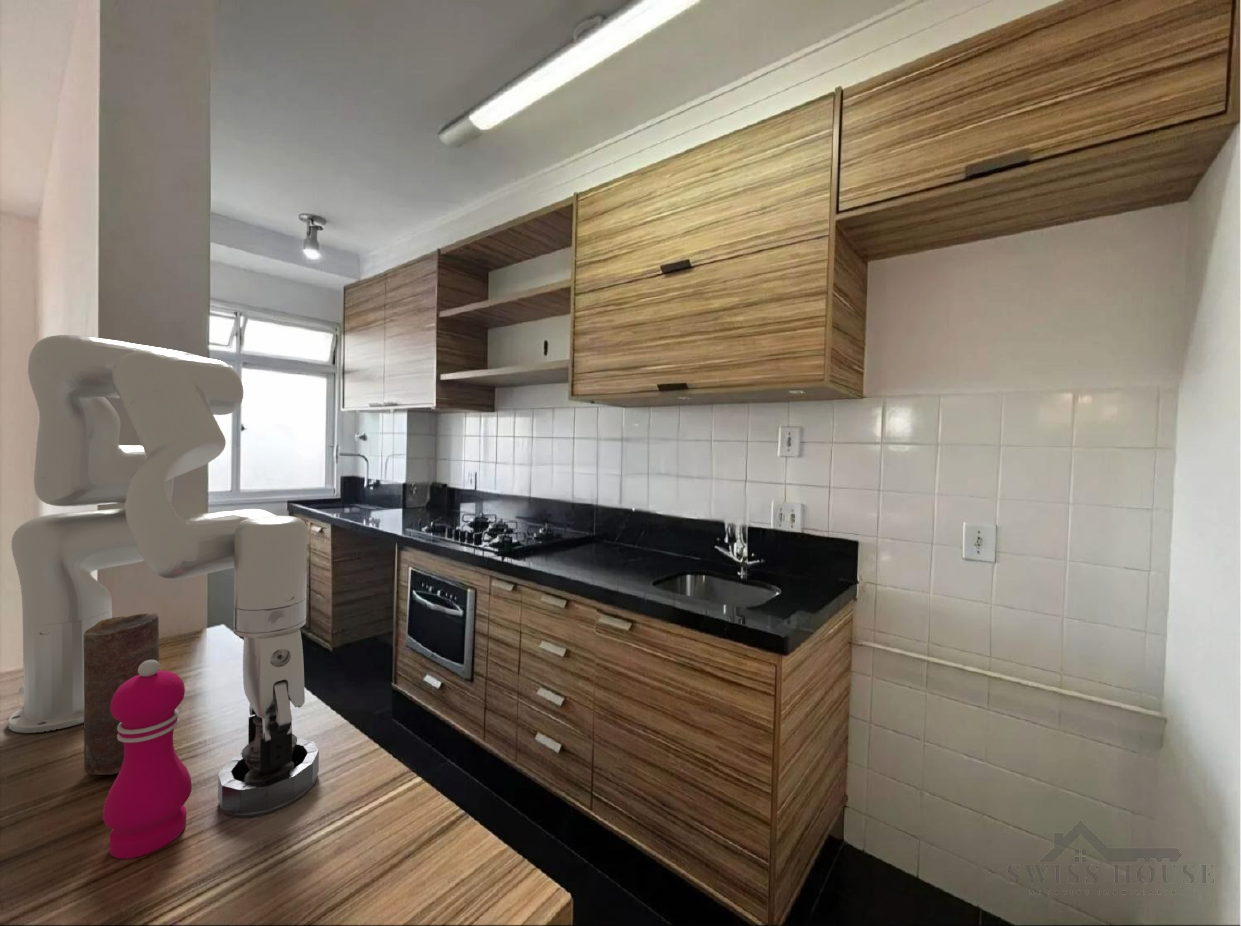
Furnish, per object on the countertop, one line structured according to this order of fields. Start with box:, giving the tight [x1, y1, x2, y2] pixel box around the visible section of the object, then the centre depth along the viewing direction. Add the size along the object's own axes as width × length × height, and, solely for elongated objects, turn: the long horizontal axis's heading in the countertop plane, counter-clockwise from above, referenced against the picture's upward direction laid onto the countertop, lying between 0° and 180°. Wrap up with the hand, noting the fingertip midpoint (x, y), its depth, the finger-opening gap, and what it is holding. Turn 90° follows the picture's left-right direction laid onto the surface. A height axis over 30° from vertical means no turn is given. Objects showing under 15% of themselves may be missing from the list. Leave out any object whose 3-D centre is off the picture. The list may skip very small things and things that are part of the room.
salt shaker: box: [240, 706, 298, 783], centre depth 65 cm, size 6×6×12 cm
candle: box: [83, 612, 160, 776], centre depth 68 cm, size 8×7×20 cm
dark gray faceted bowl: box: [217, 737, 320, 819], centre depth 65 cm, size 10×10×4 cm
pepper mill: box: [102, 660, 193, 860], centre depth 56 cm, size 7×7×20 cm
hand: (269, 753), depth 65 cm, fingers closed on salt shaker, 5 cm apart
